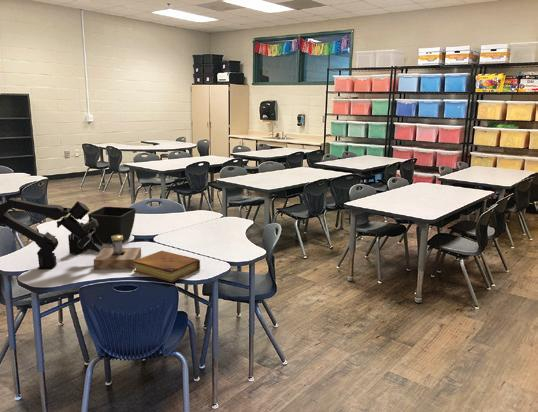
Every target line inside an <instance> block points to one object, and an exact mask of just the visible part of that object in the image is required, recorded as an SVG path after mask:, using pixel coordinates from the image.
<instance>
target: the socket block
mask: <svg viewBox="0 0 538 412" xmlns="http://www.w3.org/2000/svg"><path fill="white" fill-rule="evenodd" d="M100 250H101V251H100V252H98V254H97V255H96V256H95V258H94V259H93V270H95V271H96V270H99V271H100V270H136V263H133V261H134V260H137V259H140V258H142V247H122V254H123V255H116V256H114V253H113V247H103V248H102V249H100Z"/></svg>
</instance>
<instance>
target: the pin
mask: <svg viewBox="0 0 538 412" xmlns="http://www.w3.org/2000/svg"><path fill="white" fill-rule="evenodd" d="M111 240H112V241H113V244H112V248H113V253H114V256H116V255H123V254H122V248H123V242H122V240H123V235H113V236H111Z"/></svg>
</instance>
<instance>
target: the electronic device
mask: <svg viewBox="0 0 538 412" xmlns="http://www.w3.org/2000/svg"><path fill="white" fill-rule="evenodd" d="M67 238H68V251H69V254H70V255H76V256H77V255H80V254H83V253H85V252H86V251H88V249H82V248H83V247H82V248H79V247H78V246H77V243H78V241H79V240H78V239H79V238H77V237H76V236H75V235H74V234H73V235H71V233H70V234H68V237H67Z"/></svg>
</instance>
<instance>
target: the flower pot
mask: <svg viewBox="0 0 538 412" xmlns="http://www.w3.org/2000/svg"><path fill="white" fill-rule="evenodd" d="M136 211H137V208H135V207H119V206H103V207H101V208H98V209H96V210H95V211H92V212H90V213H89V212H88V213H87V216H88V219H89V218H93V219H96V220H97V222H98V224H99V225H98V227H96V229H95V230H96V235H97V237H98V238H99V240H100V241H101V243H102V244H109V245H110V244H112V245H113V241H112V240H111V236H113V235H123V240H122V243H124V242H126V241H127V240H129V239H130V238H131V235H132V231H133V228H134V224H135V217H136ZM93 232H94V231H93Z"/></svg>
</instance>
